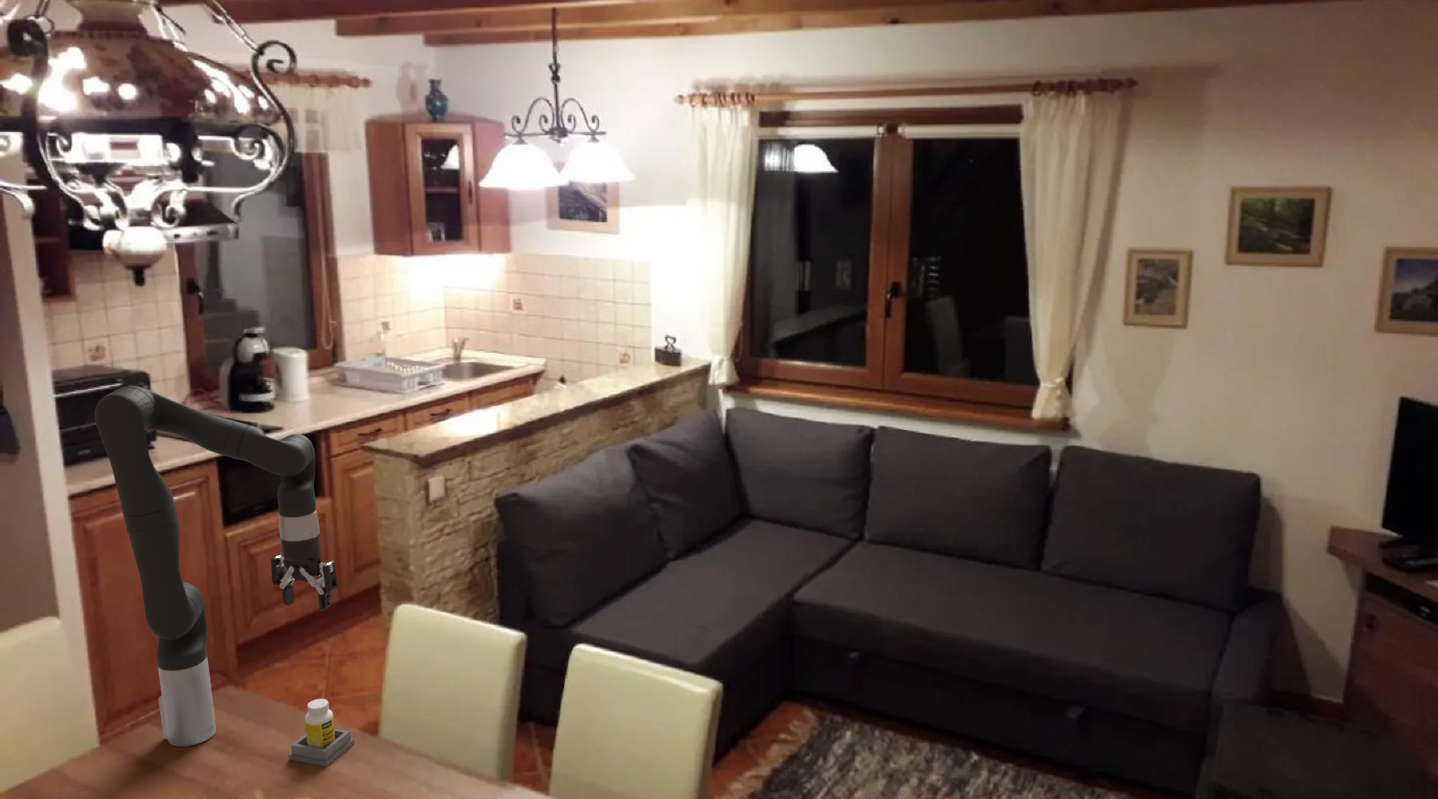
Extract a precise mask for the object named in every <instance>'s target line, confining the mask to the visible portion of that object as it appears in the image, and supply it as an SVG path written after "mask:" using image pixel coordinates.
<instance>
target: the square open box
mask: <svg viewBox="0 0 1438 799" xmlns="http://www.w3.org/2000/svg"><path fill="white" fill-rule="evenodd" d="M334 733H335V741H333V742H332V743H331V744H330V745H328V746H327V747H326V748H325V749H321V748H316V747H311V746H307V738H306V733H305V734H303V735H302V736H301V737H299V739H297V740H296V741H294V742H293V743H292V744H291V745H290V750H291V752H290V753H289V754H288V760H291V761H294V762H295V761H296V762H301V763H305V764H310V765H315V764H316V765H315V766H320V765H321V767H325V768H326V767H327V768H328V767H329V764H330V763H331V764H333V762H335V760H337V759H338V758H339V757H340V756H341V755H343V754H344V753H345V752H346V751H347V750H348V749H349V748H351V747H352V746H353V745H355V738H352V737H351V731H350V730H346V729H340V728H335V727H334ZM337 757H338V758H337ZM331 764H330V765H331Z"/></svg>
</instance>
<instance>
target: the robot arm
mask: <svg viewBox="0 0 1438 799" xmlns="http://www.w3.org/2000/svg"><path fill="white" fill-rule="evenodd" d="M94 423H95V425H96V426H95V427H96V428H97V430H98V434H99V437H100V439H101V442H102V444H103V447H104V450H105V451H106V454H107V458H108V460H109V463H110V467H111V469H112V473H113V477H114V482H115V487H116V490H117V495H118V497H119V503H120V507H121V512H122V516H123V520H124V524H125V528H126V531H127V535H128V539H129V541H130V546H131V550H132V552H133V553H132V554H133V556H134V560H135V564H136V567H137V570H138V574H139V579H140V582H141V588H142V597H143V605H144V613H145V620H146V623H147V626H148V628H149V630H151V632H152V633H153V634H155V636H156V637H158V644H157V649H156V657H155V658H156V662H157V663H156V664H157V672H158V677H159V684H160V691H161V695H160V696H159V697H158V705H159V713H160V719H161V721H160V722H161V727H162V735H163V739H164V740H167V742H168V743H169V745H171V746H173V747H181V748H182V747H191V746H194V745H198V744H200V743H201V744H202V743H203V742H206V741H208V740H209V739H211V738H212V737H213V736H214V735H215V734H216V732H217V727H216V726H217V724H216V716H215V708H214V702H213V701H214V700H213V691H212V684H211V676H210V668H209V661H208V653H207V652H208V651H207V646H208V628H207V627H208V625H207V614H206V606H205V602H204V597H203V595H202V593H201V592H200V590H199V589H198V588H197V586H195V585H193V584H192V583H188V582H185V581H183V580H182V575H181V569H180V550H181V549H180V548H181V532H180V522H179V515H178V511H177V507H176V503H175V499H174V496H173V493H172V490H171V489H170V487H169V486H168V484H167V482H166V481H165V479H164V478H163V477H162V475H161V474H160V473H159V471H158V470H157V469H156V467H155V465H154V463H153V462H152V459H151V455H150V453H149V448H148V447H149V446H148V442H147V436H146V430H151V431H153V430H155V431H162V432H167V433H172V434H174V435H178V436H180V437H182V438H185V439H187V440H188V441H191V442H192V443H194V444H196V445H198V446H199V447H201V448H203V449H205V450H207V451H209V452H212V453H215V454H218V455H221V456H224V457H228V458H232V459H236V460H240V461H245V462H248V463H250V464H252V465H254V466H256V467H257V468H260V469H262V470H264V471H266V472H268V473H271V474H273V475H275V476H280V484H279V486H278V490H277V504H278V507H277V508H278V516H279V517H278V518H279V519H278V530H279V537H280V548H281V553H279V554H278V555H276V556H274V557H272V558H271V559H270V564H271V565H270V566H271V583H272V585H274V586H279V588H280V589H281V596H282V601H283V603H284V605H285V606H289V607H290V606H291V605H293V604H294V603H295V592H294V585H293V583H294V581H296V582H297V581H298V582H299V581H303V582H306V583H309V584H310V586H311V587H314V588H315V589H316V591H317V592H318V594H317V596H318V604H319V606H318V609H319V611H320V612H324V611H326V610H328V609H329V608H330V607H331V592H333V591H335V590H336V589H338V588H339V583H338V582H339V581H338V575H337V569H336V564H335V561H334V560H331V561H328V562H323V561H322V560H321V553H322V543H321V532H320V531H321V530H320V521H319V516H318V511H317V503H316V493H315V476H316V452H315V447H314V445H313V443H312V441H311V440H310V439H309V438H308V437H307V436H305V435H303V434H299V433H292V434H289V435H286V436H285V437H284V438H282V440H280V439H275V438H273V437H270V436H267V435H266V434H265V431H264V430H263V429H261V428H259V427H256V426H253V425H250V424H247V423H242V422H240V421H235V420H232V419H229V418H228V419H227V418H224V417H220V416H217V415H213V414H211V413H207V412H203V411H201V410H197V409H195V408H192V407H190V406H188V405H185V404H183V403H180V402H177V401H174V400H172V399H170V398H167V397H165V396H163V395H161V394H159V393H156V392H154V391H152V390H150V389H147V388H144V387H141V386H138V385H127V386H126V385H125V386H122V387H121V388H120V387H119V388H118V389H115V390H114V391H113V392H111V393H108V394H106V395H105V396H103V397H101V399H100V400H99V401H98V402H97V404H96V407H95V408H94ZM285 568H286V573H285ZM317 577H318V578H317ZM315 578H317V579H315Z"/></svg>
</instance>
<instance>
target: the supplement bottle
mask: <svg viewBox="0 0 1438 799" xmlns="http://www.w3.org/2000/svg"><path fill="white" fill-rule="evenodd" d="M329 708H330V706H329V701H328V700H327V698H326V699H325V698H317V699H314V700H311V701H310V702H308V703H307V713H306V715H305V717H304V725H305V734H306V738H307V746H311V747H316V748H321V749H325V748H326V747H327V746H328V745H330V744H331V743H332V742H333V741H335V733H334V728H335V722H334V713H333V711H332V710H331V709H329Z"/></svg>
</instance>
